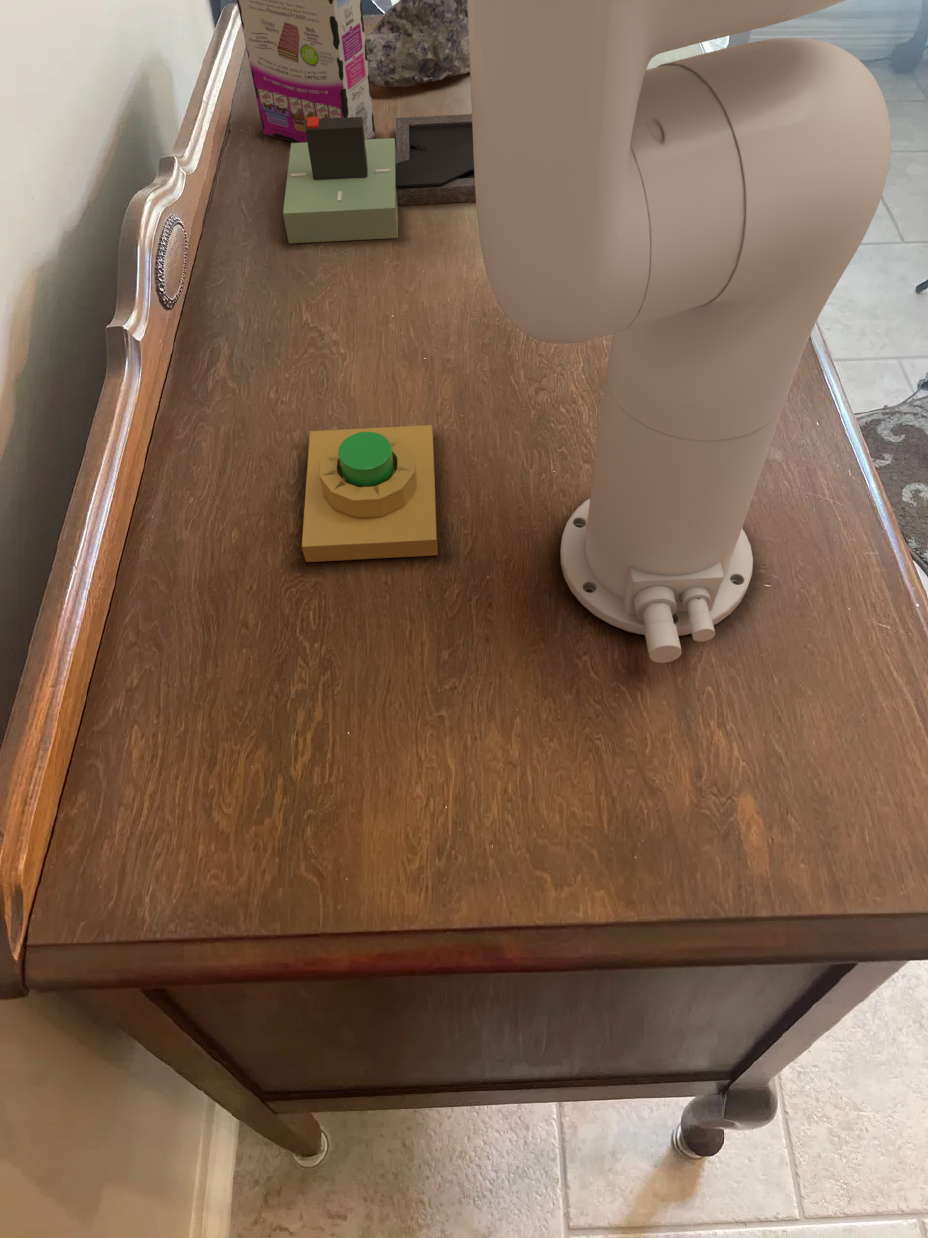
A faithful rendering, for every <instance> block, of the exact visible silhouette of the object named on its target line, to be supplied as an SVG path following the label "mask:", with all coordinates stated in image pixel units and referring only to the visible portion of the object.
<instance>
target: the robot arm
mask: <svg viewBox="0 0 928 1238" xmlns="http://www.w3.org/2000/svg"><path fill="white" fill-rule="evenodd" d="M845 1H846V0H467V8H468V32H469V56H470V72H469V77H470V99H471V100H470V102H471V114H472V127H473V153H474V175H475V192H476V202H475V206H476V207H475V208H476V218H477V228H478V236H479V244H480V247H481V254H482V258H483V263H484V267H485V271H486V275H487V278H488V281H489V285H490V287H491V289H492V292H493V294H494V297H495V298H496V301H497V302H498V305H499V306H500V308H501V310H502V312H503V313H504V315H506V317H507V318H508V319H509V321H510V322H511V323H512V324H513V325H514V327H516V329H518V330H520V331H521V332H522V333H524V334H526V335H527V336H528V337H530V338H532V339H535V340H538V341H540V342H544V343H547V344H548V343H549V344H556V345H564V344H565V345H567V344H568V345H569V344H578V343H583V342H588V341H592V340H595V339H599V338H604V337H607V336H610V335H612V337H611V342H610V346H609V352H608V359H607V367H606V371H605V378H604V379H605V380H604V386H603V395H602V401H601V411H600V419H599V424H598V425H599V426H598V433H597V440H596V441H597V442H596V449H595V457H594V465H593V472H592V479H591V481H592V482H591V488H590V495H589V498H588V499H586V500H585V501H583V503H581V504H580V505H579V506H578V507H577V508H576V509H575V510H574V511H573V513H572V514H571V515H570V517H569V519H568V520H567V522H566V525H565V527H564V529H563V533H562V535H561V541H560V549H559V552H560V553H559V554H560V560H559V561H560V567H561V570H562V575H563V578H564V581H565V582H566V584H567V586H568V588H569V590H570V592H571V593H572V594H573V596H574V597H575V598H576V599H577V601H578V602H579V603H580V604H581V605H582V606H583V607H584V608H586V610H588V611H589V612H590V613H591V614H592V615H594V616H595V617H597V618H598V619H600V620H602V621H604V623H607V624H609V625H611V626H613V627H615V628H618V629H621V630H623V631H625V632H628V633H633V634H636V635H637V634H638V635H642V636H644V637H645V642H646V647H647V652H648V658H649V659H650V660H651V661H652V662H654V663H656V664H667V663H670V662H674V661H676V660H677V659H679V658H680V657H681V655H682V652H683V651H682V647H681V642H680V638H679V637H680V636H688V635H690V634H691V637H692V640H694V641H695V642H698V643H699V642H702V643H704V642H708V641H710V640H712V639H714V638H715V636H716V630H715V625H717V624H719V623H720V622H721V621H723V620H724V619H725V618H727V617H728V616H729V615H731V614H732V613H733V612H734V610H735V609H736V608H737V607H738V606H739V605H740V603H741V602H742V600H743V598H744V596H745V595H746V593H747V591H748V588H749V585H750V581H751V579H752V576H753V568H754V567H753V566H754V556H753V550H752V545H751V542H750V541H749V538H748V536H747V534H746V532H745V530H744V529H743V527H744V524H745V522H746V518H747V515H748V512H749V509H750V506H751V503H752V500H753V497H754V494H755V492H756V488H757V486H758V482H759V480H760V477H761V473H762V471H763V468H764V464H765V462H766V458H767V457H768V453H769V450H770V447H771V445H772V441H773V438H774V435H775V432H776V430H777V426H778V425H779V421H780V418H781V415H782V413H783V409H784V406H785V405H786V402H787V399H788V395H789V393H790V390H791V387H792V384H793V381H794V378H795V376H796V373H797V370H798V368H799V365H800V362H801V359H802V356H803V354H804V351H805V349H806V346H807V344H808V342H809V339H810V338H811V335H812V332H813V330H814V327H815V325H816V323H817V321H818V319H819V317H820V314H821V313H822V310H824V308H825V305H826V303H828V300H829V299H830V296H831V295H832V293H833V291H834V290H835V288H836V286H837V284H839V281H840V280H841V278H842V276H843V275H844V273H845V272H846V270H847V268H848V266H849V265H850V263H851V261H852V259H853V258H854V256H855V254H856V252H857V251H858V249H859V247H860V246H861V244H862V243H863V241H864V239H865V236H866V234H867V232H868V230H869V227H870V226H871V224H872V221H873V220H874V217H875V214H876V213H877V210H878V207H879V205H880V202H881V199H882V196H883V193H884V190H885V186H886V183H887V177H888V173H889V168H890V160H891V150H892V130H891V122H890V114H889V110H888V107H887V103H886V100H885V97H884V94H883V91H882V89H881V87H880V86H879V84H878V81H877V80H876V78H875V77H874V75H873V73H871V72H870V70H869V69H868V68H867V66H866V65H865V64H864V63H863V62H861V60H860V59H858V58H857V57H856V56H854V55H853V54H852V53H850V52H848V51H847V50H845V49H843V48H842V47H839V46H838V45H835V44H833V43H830V42H827V41H823V40H820V39H819V40H818V39H815V38H808V37H807V38H805V37H777V38H770V39H764V40H756V41H750V42H746V43H743V44H737V45H733V46H729V47H725V48H720V49H716V50H713V51H709V52H705V53H701V54H697V55H693V56H689V57H686V58H682V59H677V60H673V61H670V62H664V63H662V64H660V65H658V66H655V67H652V68H648V66H649V64H650V62H651V60H652V59H653V58H655V57H656V56H657V55H659V54H664V53H668V52H670V51H671V52H672V51H674V50H679V49H682V48H686V47H689V46H692V45H693V46H694V45H696V44H701V43H705V42H710V41H714V40H717V39H721V38H726V37H730V36H733V35H737V34H741V33H745V32H750V31H754V30H759V29H762V28H766V27H770V26H773V25H777V24H781V23H784V22H787V21H792V20H795V19H798V18H801V17H804V16H808V15H812V14H814V13H817V12H820V11H823V10H825V9H828V8H830V7H832V6H835V5H837V4H840V3H842V2H845Z"/></svg>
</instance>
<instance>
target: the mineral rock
mask: <svg viewBox="0 0 928 1238" xmlns="http://www.w3.org/2000/svg"><path fill="white" fill-rule="evenodd" d="M365 44H366V52H367V61H368V71H369V81H370V86H374V87H391V88H399V87H401V88H402V87H403V88H406V87H415V86H418V85H421V84H427V83H430V82H436V81H439V80H440V81H442V80H443V79H445V78H446V77H447V78H450V77H453V76H459V75H464V74H467V73H470V56H469V32H468V8H467V0H398V2H396V3H394V4H393V5H392V6H391V7H390V8H389V9H387V10H386V11H385V12H384V14H383V16H382V18H381V19H380V20H379V21H378V22H377V24H376V25H375V27H374V28H373V30H372V32H370V33H369V34H368V35H367V36H365Z"/></svg>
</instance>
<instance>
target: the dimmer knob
mask: <svg viewBox="0 0 928 1238" xmlns="http://www.w3.org/2000/svg"><path fill="white" fill-rule="evenodd" d="M305 132H306V138H307V144H308V150H309V156H310V162H311V168H312V174H313V179H314V180H316V179H335V178H355V177H367V176H368V163H367V154H366V146H365V137H364V128H363V119H362V117H348V118H328V119H319V117H308V120H306V128H305Z"/></svg>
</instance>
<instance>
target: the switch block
mask: <svg viewBox="0 0 928 1238" xmlns="http://www.w3.org/2000/svg"><path fill="white" fill-rule="evenodd" d="M360 432H375V433H378V434H381V435H383V436H384V437H385V438H387V439H388V441H389V442H390V444H391V447H392V455H393V463H394V469H393V472H392V474H391V476H390V477H389V478H388V479H387V480H386V481H385V482H383V483H381V484H379V485H376V486H372V487H359V486H355V485H353V484H351V483H349V482H348V481H347V480H346V479H345V478H344V477H343V475H342V471H341V466H340V460H339V455H338V451H339V447H340V445H341V443H342V442H343V441H344V440H345V439H346V438H348V437H349V436H351V435H353V434H356V433H360ZM433 432H434V431H433V424H426V425H425V424H424V425H423V424H421V425H406V426H405V425H404V426H388V427H387V426H385V427H366V428H365V427H363V428H349V429H348V428H345V429H327V430H310V431H309V435H308V437H309V438H308V451H307V467H306V481H305V492H304V495H305V496H304V506H303V507H304V508H303V521H302V537H301V549H302V554H303V556H304V560H305V563H316V562H317V563H318V562H335V561H353V560H371V559H372V560H375V559H392V558H393V559H394V558H395V559H396V558H410V557H411V558H412V557H432V556H433V557H434V556H438V554H439V552H438V526H437V524H438V523H437V501H436V500H437V499H436V475H435V452H434V451H435V448H434V435H433Z"/></svg>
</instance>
